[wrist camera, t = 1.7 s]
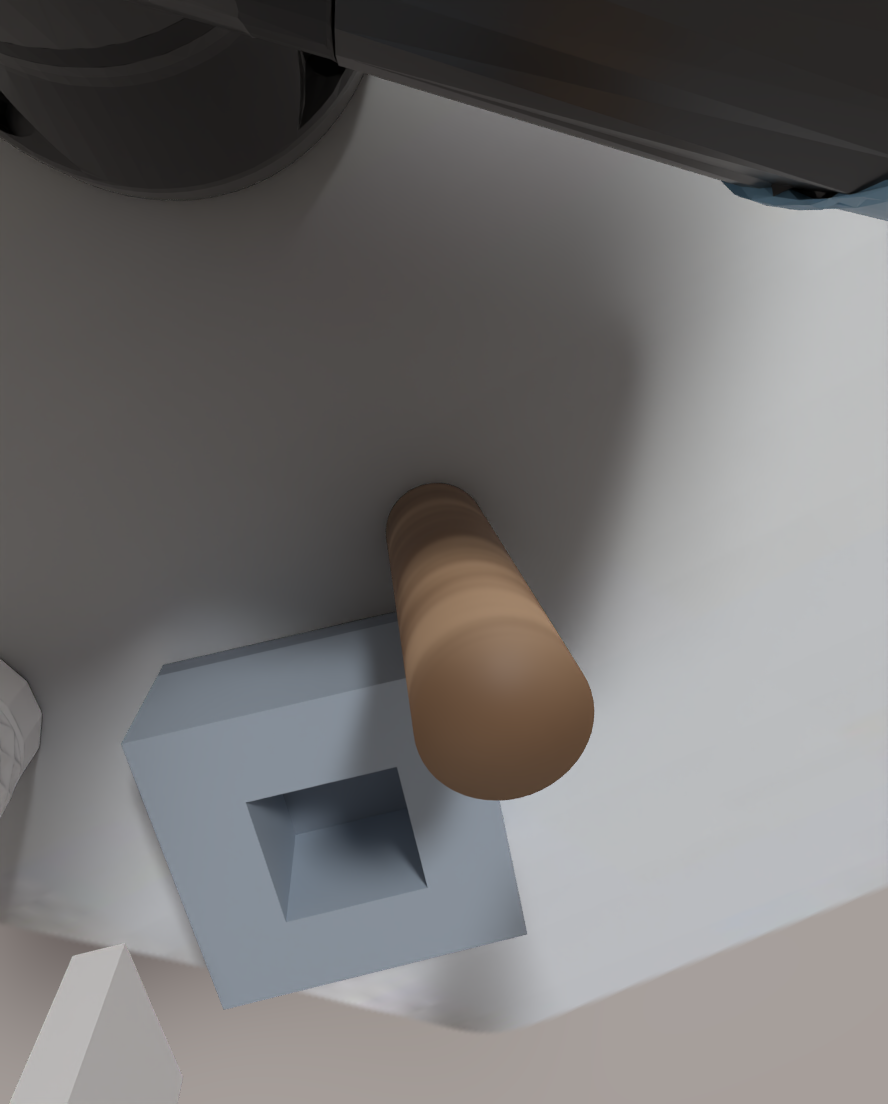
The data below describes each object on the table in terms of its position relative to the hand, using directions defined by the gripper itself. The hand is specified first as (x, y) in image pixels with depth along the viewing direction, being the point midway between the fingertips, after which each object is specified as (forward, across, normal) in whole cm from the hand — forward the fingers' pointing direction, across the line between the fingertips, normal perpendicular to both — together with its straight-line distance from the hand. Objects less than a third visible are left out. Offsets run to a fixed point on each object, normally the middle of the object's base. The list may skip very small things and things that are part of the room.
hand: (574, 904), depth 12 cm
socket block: (+20, -6, -9) cm, 23 cm away
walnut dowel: (+20, 0, 0) cm, 20 cm away
